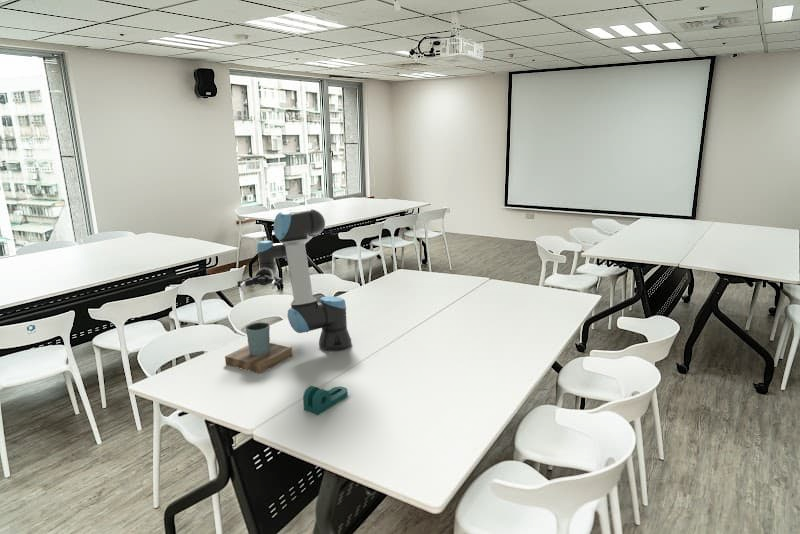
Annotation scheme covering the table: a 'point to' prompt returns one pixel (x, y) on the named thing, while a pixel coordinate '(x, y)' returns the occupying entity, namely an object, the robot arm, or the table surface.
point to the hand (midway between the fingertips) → (257, 287)
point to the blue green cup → (258, 338)
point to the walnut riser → (258, 358)
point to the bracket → (322, 398)
